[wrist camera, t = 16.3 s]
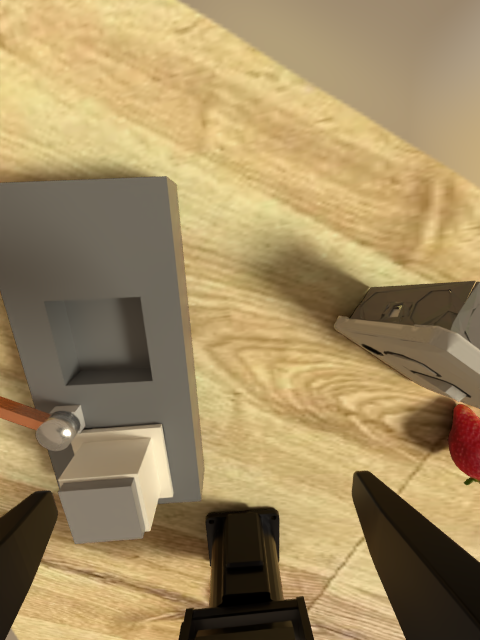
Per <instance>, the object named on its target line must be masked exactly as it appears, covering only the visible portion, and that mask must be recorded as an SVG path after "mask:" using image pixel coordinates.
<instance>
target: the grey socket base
mask: <svg viewBox="0 0 480 640" xmlns="http://www.w3.org/2000/svg"><path fill="white" fill-rule="evenodd" d="M0 292H1V295H2V298H3V302H4V305H5V308H6V312H7V315H8V318H9V322H10V325H11V328H12V332H13V335H14V338H15V342H16V345H17V349H18V352H19V355H20V359H21V362H22V365H23V369H24V372H25V375H26V379H27V382H28V385H29V389H30V392H31V395H32V399H33V402H34V405H35V409H37V410H40V411H43V412H46V413H48V414H52V413H54V412H56V411H61V410H63V411H68V412H71V413H73V414H74V415H75V416H76V417H77V418H78V419H79V421H80V424H81V427H80V430H79V432H78V433H81V431H82V430H89V429H92V428H99V427H116V426H133V425H150V424H162V428H163V434H164V440H165V445H166V451H167V457H168V463H169V469H170V475H171V481H172V487H173V492H174V493H173V497H169V498H159V499H158V503H157V504H164V503H179V502H195V501H201V499H202V489H203V478H204V460H203V450H202V440H201V430H200V419H199V409H198V399H197V389H196V379H195V369H194V358H193V348H192V338H191V328H190V318H189V307H188V297H187V287H186V277H185V267H184V257H183V246H182V236H181V226H180V216H179V206H178V196H177V185H176V183H174V182H173V181H172V180H170V179H169V178H168V177H167V176H165V177H139V178H113V179H88V180H62V181H36V182H10V183H0ZM48 452H49V456H50V459H51V462H52V466H53V469H54V472H55V476H56V479H57V482H58V486H59V489H60V488H61V487H60V484H59V481H58V479H59V478H60V476H61V475H62V473H63V472H64V470H65V469H66V467H67V466H68V464H69V463H70V461H71V460H72V458H73V457H74V451H73V448H72V445H71V443H70V444H69V446H68V447H67V448H65V449H63V450H60V451H52V450H48Z"/></svg>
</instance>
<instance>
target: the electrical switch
mask: <svg viewBox="0 0 480 640" xmlns="http://www.w3.org/2000/svg"><path fill="white" fill-rule="evenodd" d="M474 283H475V281H467V282H451V283H435V284H419V285H403V286H387V287H371V288H370V289H369V291H368V293H367V294H366V296H365V298H364V299H363V301H362V303H361V304H360V305H359V306H358V307H357V308H356V310H355V311H354V313H353V315H352V316H351V317H350V319H349V318H348V317H344V316H338V318H337V320H336V322H335V324H334V328H335V330H337V331H338V332H340V333H341V334H343V335H344V336H346V337H347V338H349V339H350V340H352V341H353V342H355V343H356V344H358V345H359V346H361V347H362V348H364V349H365V350H367V351H368V352H370V353H371V354H373V355H374V356H376V357H377V358H379V359H380V360H382V361H383V362H385V363H386V364H388V365H389V366H391V367H392V368H394V369H395V370H397V371H398V372H400V373H401V374H403V375H404V376H406V377H407V378H409V379H410V380H412V381H413V382H415V383H417V384H418V385H420V386H422V387H424V388H427V389H429V390H431V391H434V392H436V393H439V394H441V395H444V396H447V397H449V398H452V399H455V400H456V401H458V402H463V403H465V404H468V405H471V406H473V407H476V408H479V409H480V282H476V284H475V286H474V288H473V289H472V287H473V285H474ZM471 289H472V291H471ZM449 290H450V291H451V292H450V291H449ZM470 291H471V293H470ZM469 293H470V295H469ZM468 296H469V297H468ZM400 305H402V308H401V309H399V307H397V306H400Z"/></svg>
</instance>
